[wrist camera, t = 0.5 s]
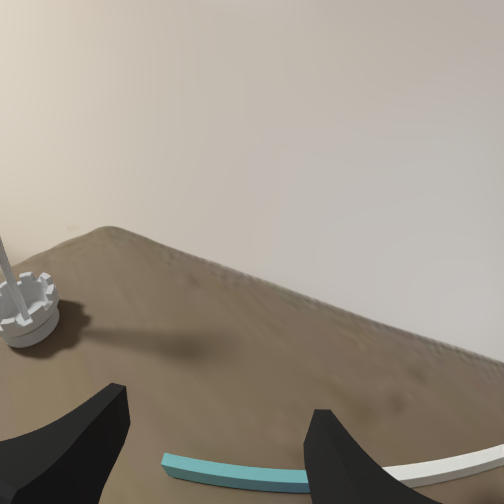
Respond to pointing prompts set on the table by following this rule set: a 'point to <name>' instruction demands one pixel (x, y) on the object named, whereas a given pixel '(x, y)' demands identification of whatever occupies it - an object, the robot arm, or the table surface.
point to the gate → (236, 475)
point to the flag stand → (26, 306)
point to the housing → (448, 467)
